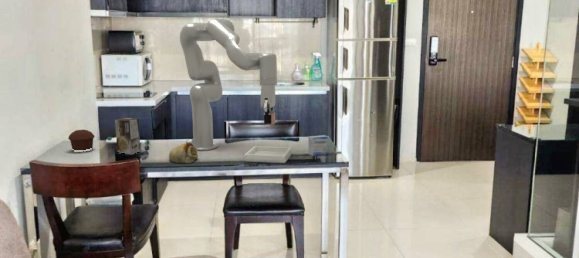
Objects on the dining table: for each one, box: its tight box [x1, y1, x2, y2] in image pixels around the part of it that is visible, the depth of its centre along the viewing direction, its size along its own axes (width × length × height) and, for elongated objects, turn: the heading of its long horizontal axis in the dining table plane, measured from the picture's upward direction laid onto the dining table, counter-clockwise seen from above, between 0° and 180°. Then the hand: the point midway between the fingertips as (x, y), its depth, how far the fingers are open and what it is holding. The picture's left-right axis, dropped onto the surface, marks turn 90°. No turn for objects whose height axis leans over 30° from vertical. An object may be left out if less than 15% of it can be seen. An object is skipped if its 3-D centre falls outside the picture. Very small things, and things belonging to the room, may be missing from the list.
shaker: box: [265, 109, 276, 125], centre depth 224 cm, size 5×5×6 cm
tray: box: [243, 145, 293, 164], centre depth 227 cm, size 18×18×3 cm
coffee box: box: [114, 117, 141, 155], centre depth 236 cm, size 9×6×16 cm
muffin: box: [67, 129, 96, 150], centre depth 241 cm, size 12×11×10 cm
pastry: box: [168, 142, 199, 164], centre depth 222 cm, size 14×12×8 cm
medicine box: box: [308, 134, 329, 157], centre depth 233 cm, size 8×4×9 cm, turn 117°
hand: (269, 122), depth 225 cm, fingers closed on shaker, 5 cm apart
